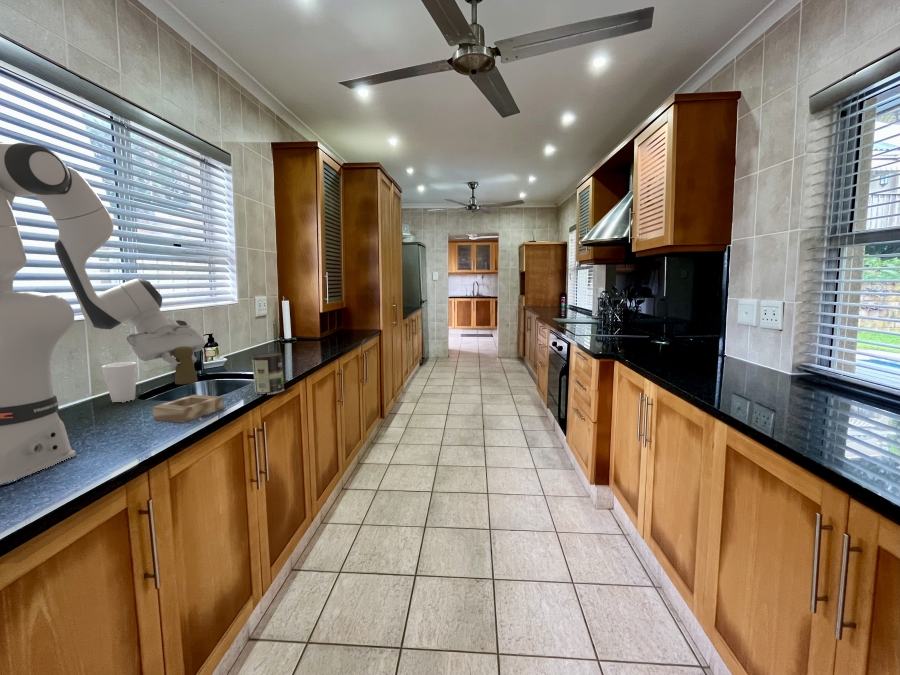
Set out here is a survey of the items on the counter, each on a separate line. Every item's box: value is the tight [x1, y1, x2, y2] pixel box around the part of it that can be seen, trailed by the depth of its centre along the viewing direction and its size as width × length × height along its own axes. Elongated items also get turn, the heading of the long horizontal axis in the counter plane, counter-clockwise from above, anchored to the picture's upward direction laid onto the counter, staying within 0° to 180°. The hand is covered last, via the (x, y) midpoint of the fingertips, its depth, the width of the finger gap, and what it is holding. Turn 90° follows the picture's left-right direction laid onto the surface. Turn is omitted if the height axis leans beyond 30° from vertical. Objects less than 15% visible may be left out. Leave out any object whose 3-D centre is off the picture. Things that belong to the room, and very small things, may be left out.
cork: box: [173, 346, 199, 385], centre depth 125 cm, size 6×6×11 cm
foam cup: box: [101, 361, 138, 403], centre depth 144 cm, size 10×9×13 cm
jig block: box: [151, 394, 224, 423], centre depth 127 cm, size 14×12×4 cm
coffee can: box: [251, 352, 285, 396], centre depth 152 cm, size 10×10×14 cm
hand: (186, 363), depth 125 cm, fingers closed on cork, 4 cm apart
